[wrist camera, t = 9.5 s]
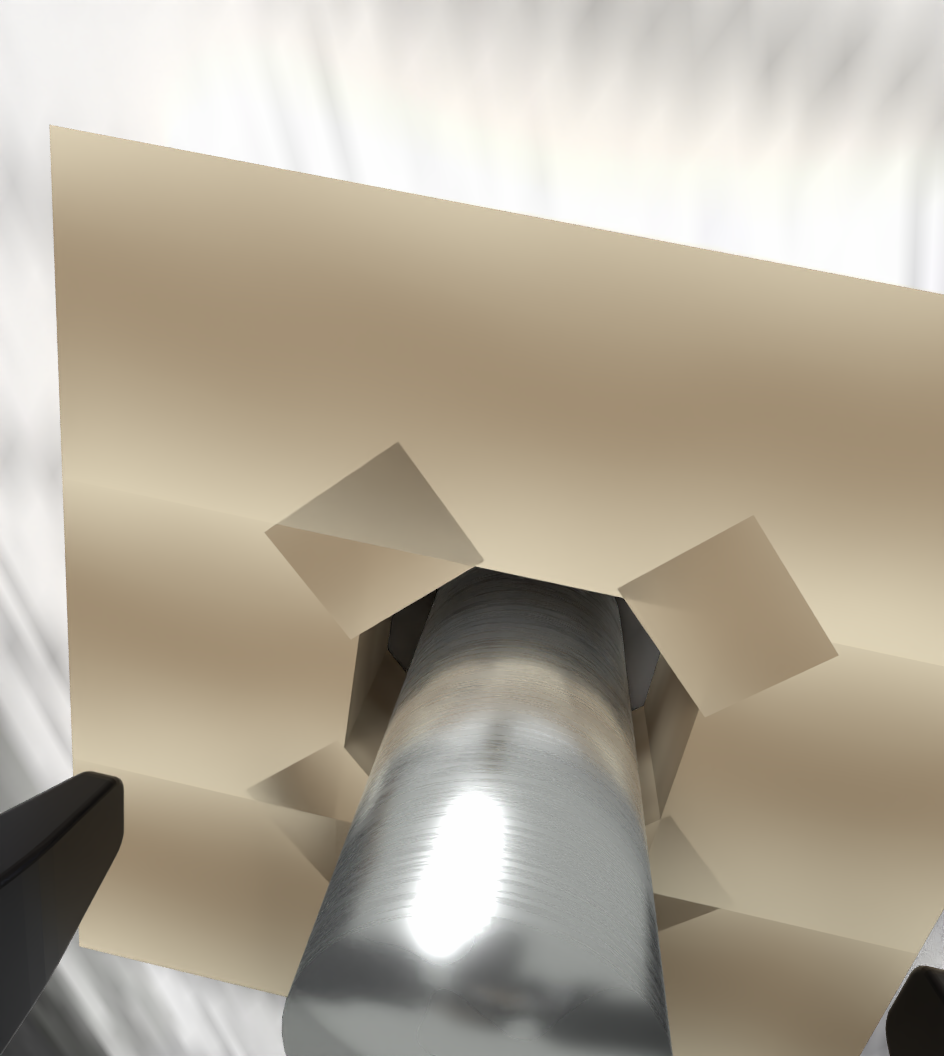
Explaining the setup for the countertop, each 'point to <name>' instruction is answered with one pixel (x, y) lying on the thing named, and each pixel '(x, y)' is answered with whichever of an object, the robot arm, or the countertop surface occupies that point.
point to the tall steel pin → (495, 849)
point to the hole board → (497, 558)
